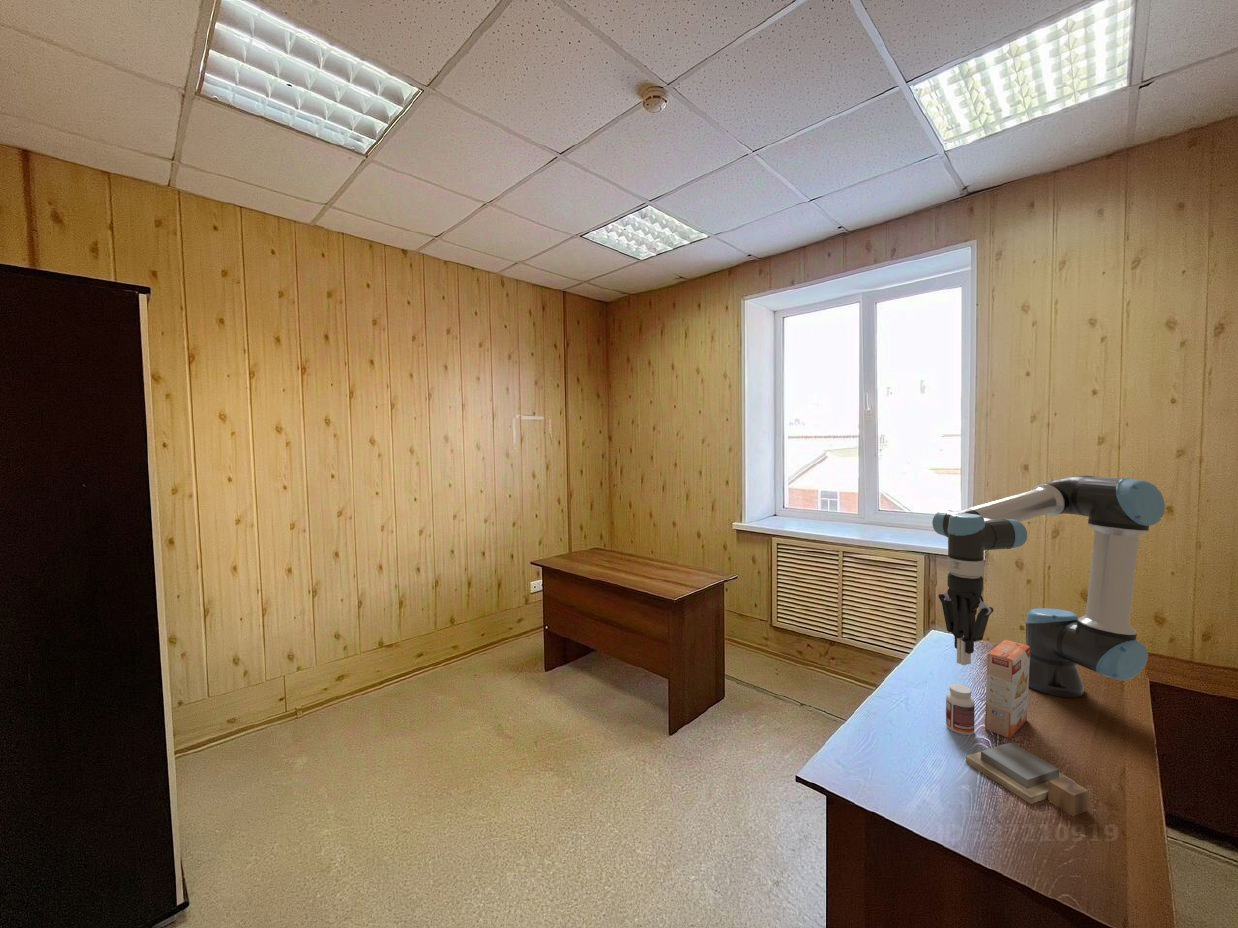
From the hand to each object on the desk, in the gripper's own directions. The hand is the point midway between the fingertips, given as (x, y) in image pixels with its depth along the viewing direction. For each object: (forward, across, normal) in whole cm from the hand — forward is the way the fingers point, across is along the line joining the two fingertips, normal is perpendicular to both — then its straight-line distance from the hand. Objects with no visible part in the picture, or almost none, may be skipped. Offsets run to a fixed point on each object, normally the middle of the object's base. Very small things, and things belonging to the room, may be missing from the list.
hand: (963, 662), depth 127 cm
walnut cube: (+16, +24, -5) cm, 29 cm away
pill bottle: (+18, -1, 0) cm, 18 cm away
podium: (+18, +16, -4) cm, 25 cm away
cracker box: (+19, +2, +13) cm, 23 cm away
